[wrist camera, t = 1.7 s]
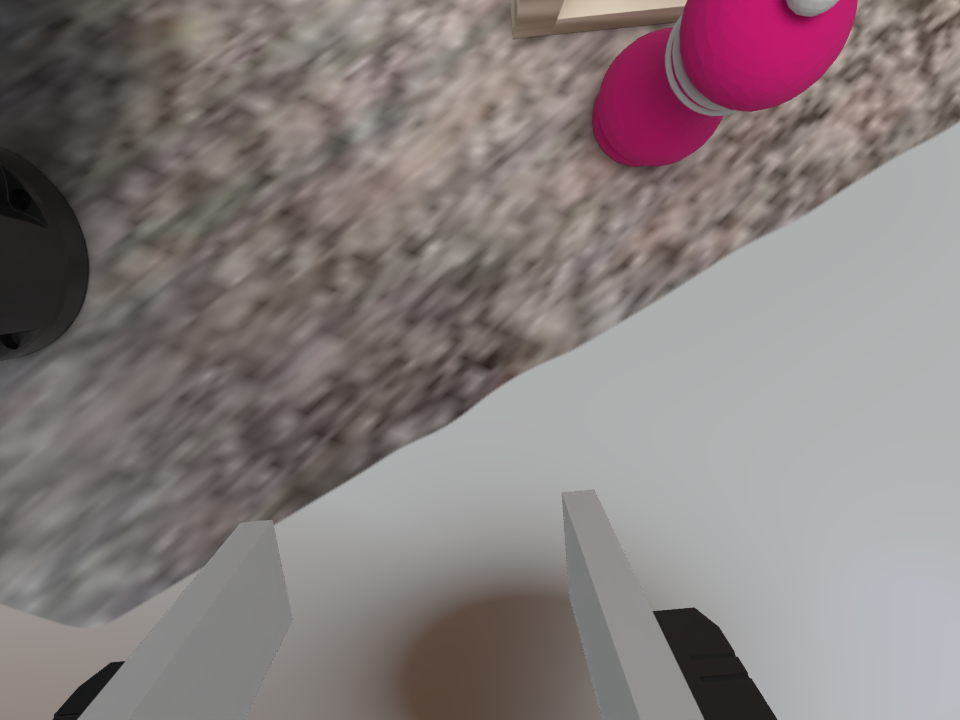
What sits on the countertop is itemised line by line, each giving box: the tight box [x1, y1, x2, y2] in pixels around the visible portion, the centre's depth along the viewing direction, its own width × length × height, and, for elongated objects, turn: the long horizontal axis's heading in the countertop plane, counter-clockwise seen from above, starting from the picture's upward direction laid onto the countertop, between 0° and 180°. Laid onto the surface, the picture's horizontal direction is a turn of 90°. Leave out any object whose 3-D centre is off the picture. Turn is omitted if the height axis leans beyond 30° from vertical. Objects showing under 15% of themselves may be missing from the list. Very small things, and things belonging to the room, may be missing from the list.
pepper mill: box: [593, 0, 857, 166], centre depth 26 cm, size 7×7×20 cm
